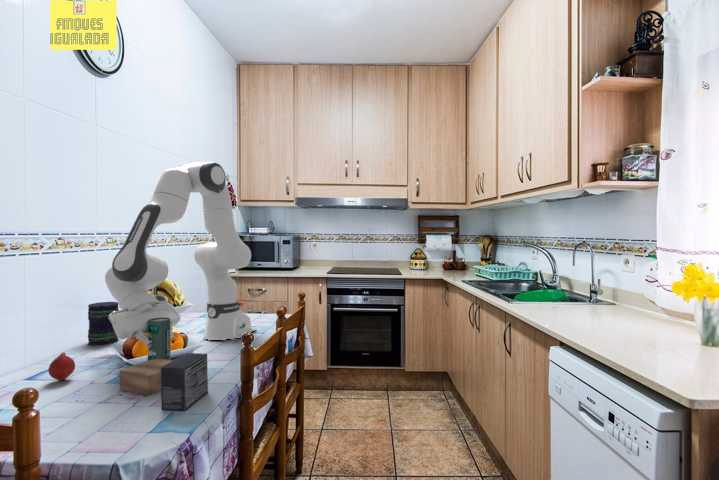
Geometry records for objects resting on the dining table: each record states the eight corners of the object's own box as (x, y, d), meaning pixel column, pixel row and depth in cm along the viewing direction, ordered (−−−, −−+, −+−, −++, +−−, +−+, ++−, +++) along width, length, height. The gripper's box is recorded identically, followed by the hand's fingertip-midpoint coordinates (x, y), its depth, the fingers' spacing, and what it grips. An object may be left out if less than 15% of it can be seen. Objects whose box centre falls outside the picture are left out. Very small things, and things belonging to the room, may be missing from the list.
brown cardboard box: (156, 374, 108) (156, 357, 108) (183, 380, 104) (183, 362, 104) (119, 388, 98) (119, 370, 98) (148, 395, 93) (148, 376, 93)
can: (149, 365, 115) (149, 318, 115) (171, 362, 118) (170, 316, 118) (146, 371, 110) (146, 322, 110) (169, 369, 112) (169, 320, 112)
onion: (59, 385, 100) (59, 356, 100) (43, 384, 101) (43, 355, 101) (80, 377, 105) (80, 350, 105) (64, 376, 106) (63, 349, 106)
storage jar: (91, 340, 144) (92, 302, 144) (121, 337, 148) (121, 301, 148) (84, 347, 135) (84, 307, 135) (115, 344, 139) (115, 305, 139)
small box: (185, 391, 96) (185, 352, 96) (209, 392, 95) (209, 353, 95) (159, 410, 86) (159, 366, 85) (185, 412, 85) (185, 367, 85)
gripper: (110, 306, 107) (133, 343, 103) (170, 295, 126) (192, 326, 122) (100, 320, 108) (123, 356, 105) (161, 307, 127) (182, 338, 124)
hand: (160, 340), depth 114 cm, fingers closed on can, 6 cm apart
